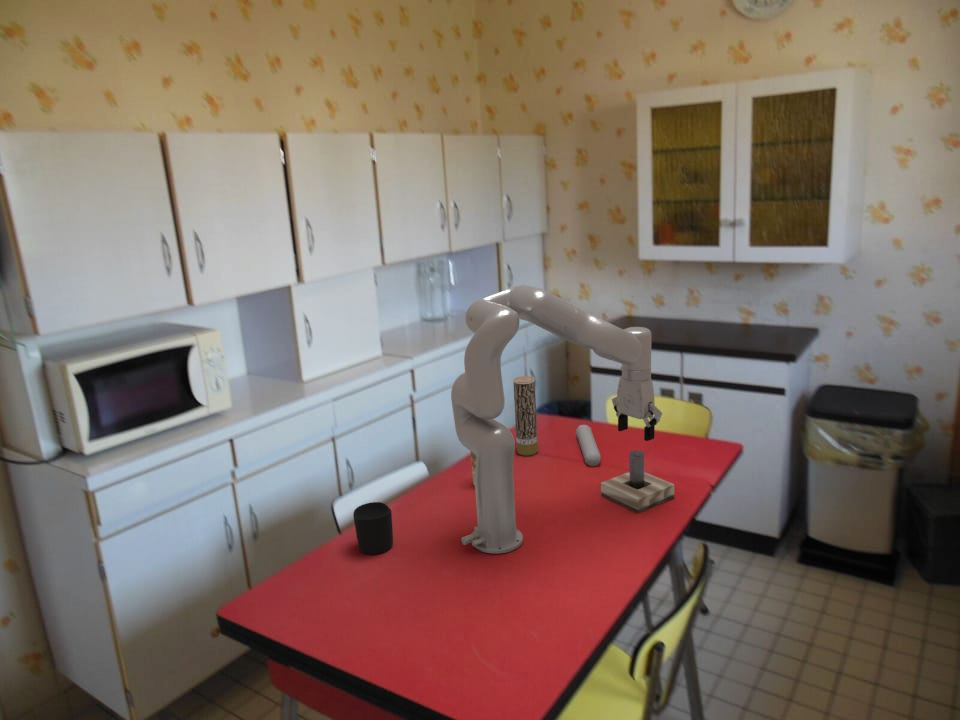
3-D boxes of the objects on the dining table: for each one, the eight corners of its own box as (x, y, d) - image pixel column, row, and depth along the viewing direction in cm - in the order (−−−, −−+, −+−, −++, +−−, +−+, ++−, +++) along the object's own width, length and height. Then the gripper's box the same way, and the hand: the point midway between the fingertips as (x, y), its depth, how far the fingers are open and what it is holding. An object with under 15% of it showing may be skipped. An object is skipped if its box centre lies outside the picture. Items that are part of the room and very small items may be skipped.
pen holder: (400, 538, 185) (396, 503, 182) (386, 557, 176) (382, 520, 174) (366, 536, 187) (362, 501, 185) (351, 554, 179) (346, 518, 176)
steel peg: (637, 498, 197) (636, 457, 194) (626, 493, 200) (626, 453, 197) (647, 493, 199) (647, 453, 196) (636, 489, 202) (636, 449, 199)
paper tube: (514, 450, 237) (510, 378, 231) (533, 447, 239) (530, 375, 233) (521, 458, 231) (517, 383, 225) (541, 454, 233) (537, 380, 227)
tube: (604, 455, 219) (593, 426, 244) (588, 451, 219) (578, 422, 243) (599, 471, 221) (588, 440, 245) (582, 467, 220) (573, 436, 245)
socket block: (638, 513, 190) (637, 499, 189) (601, 495, 202) (600, 482, 200) (674, 497, 198) (674, 484, 197) (636, 481, 209) (636, 469, 208)
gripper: (603, 370, 195) (603, 429, 200) (650, 383, 181) (650, 447, 186) (623, 365, 199) (622, 423, 204) (671, 377, 185) (670, 440, 190)
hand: (635, 434), depth 195 cm, fingers open, 9 cm apart
